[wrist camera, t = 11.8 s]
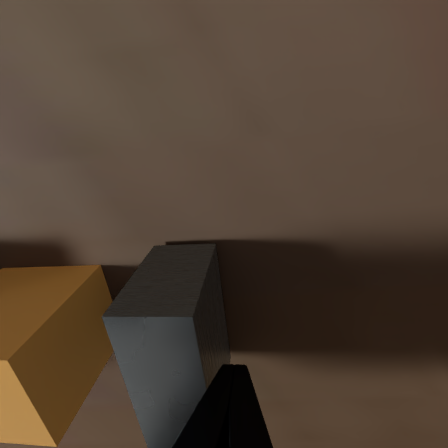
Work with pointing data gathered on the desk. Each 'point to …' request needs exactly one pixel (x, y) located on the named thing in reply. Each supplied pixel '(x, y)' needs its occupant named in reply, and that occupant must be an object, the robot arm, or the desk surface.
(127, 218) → the desk surface
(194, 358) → the gray rectangular block
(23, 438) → the block
